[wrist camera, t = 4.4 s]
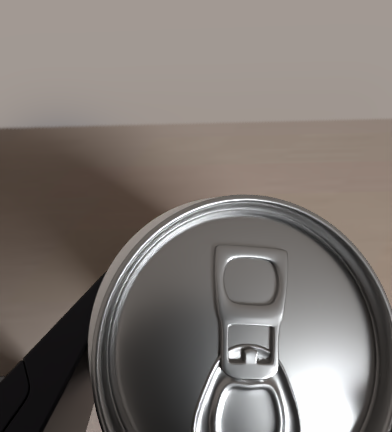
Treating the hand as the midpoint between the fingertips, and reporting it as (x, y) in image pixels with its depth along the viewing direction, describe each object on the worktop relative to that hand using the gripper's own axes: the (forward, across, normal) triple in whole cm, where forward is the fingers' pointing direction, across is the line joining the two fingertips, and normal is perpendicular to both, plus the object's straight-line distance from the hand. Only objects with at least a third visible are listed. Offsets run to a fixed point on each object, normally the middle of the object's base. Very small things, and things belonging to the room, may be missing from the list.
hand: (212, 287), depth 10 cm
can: (+5, 0, +6) cm, 8 cm away
